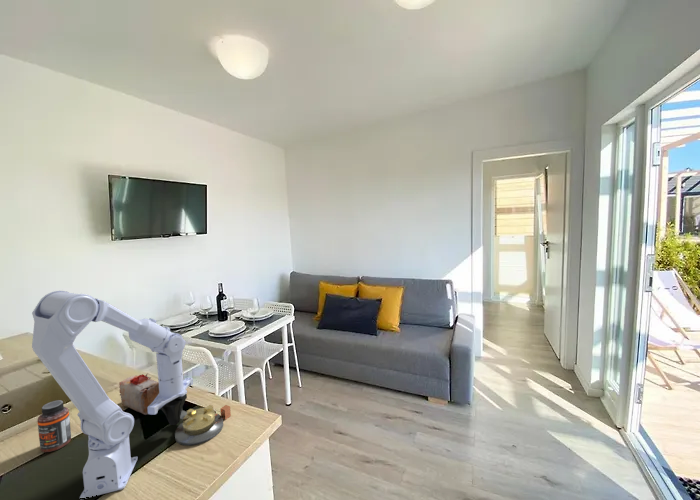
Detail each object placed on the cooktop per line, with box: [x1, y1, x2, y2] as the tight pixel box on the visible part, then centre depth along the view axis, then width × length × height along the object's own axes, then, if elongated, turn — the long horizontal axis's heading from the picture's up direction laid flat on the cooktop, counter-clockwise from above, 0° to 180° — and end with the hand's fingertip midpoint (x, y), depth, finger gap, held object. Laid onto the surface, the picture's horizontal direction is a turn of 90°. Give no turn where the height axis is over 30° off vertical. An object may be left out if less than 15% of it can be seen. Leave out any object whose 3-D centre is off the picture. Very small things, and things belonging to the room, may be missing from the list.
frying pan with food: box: [174, 404, 232, 447], centre depth 86 cm, size 14×12×3 cm
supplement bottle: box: [37, 399, 72, 453], centre depth 80 cm, size 6×6×11 cm
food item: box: [118, 372, 159, 416], centre depth 97 cm, size 14×8×10 cm, turn 64°
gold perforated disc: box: [180, 404, 216, 435], centre depth 86 cm, size 14×8×3 cm, turn 64°
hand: (174, 423), depth 84 cm, fingers closed
